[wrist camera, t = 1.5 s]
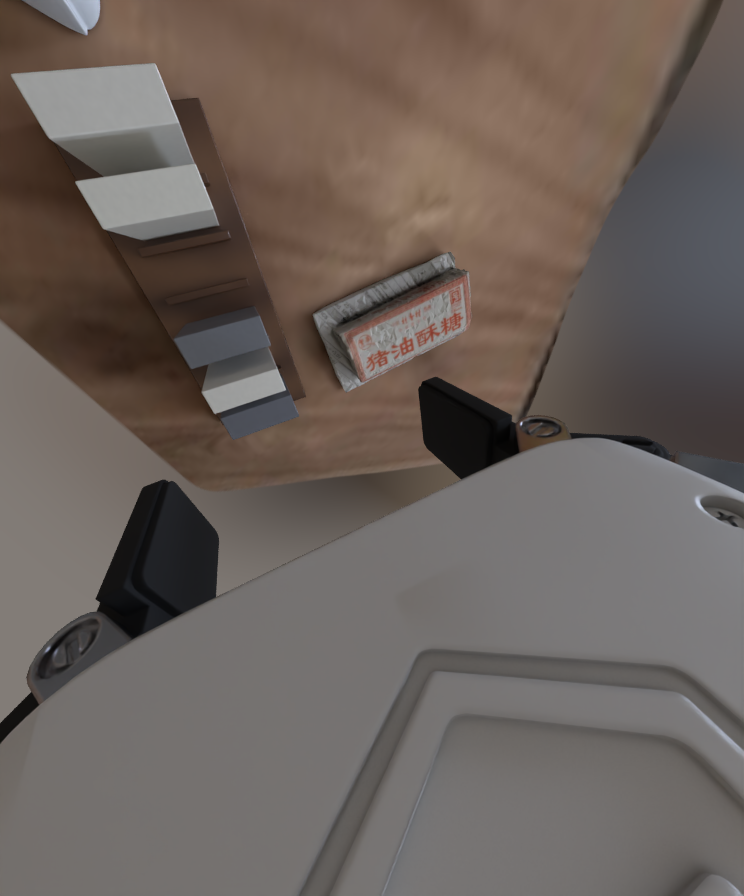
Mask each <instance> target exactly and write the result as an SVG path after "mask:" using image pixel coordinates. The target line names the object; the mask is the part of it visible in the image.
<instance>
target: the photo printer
mask: <svg viewBox="0 0 744 896" xmlns="http://www.w3.org/2000/svg"><path fill="white" fill-rule="evenodd" d="M22 1H24V2H26V3H27V4H29V5H31V6H32V7H34V8H35V9H37V10H39V11H40V12H42V13H44V14H45V15H47V16H49V17H50V18H52V19H54V20H55V21H57V22H59V23H61V24H62V25H64V26H66V27H68V28H70V29H72V30H74V31H76V32H79V33H81V34H83V35H88V32H87V29H88V30H90V29H92V28H93V27H94V26H95V24H96V23H97V21H98V18H99V14H100V0H22Z"/></svg>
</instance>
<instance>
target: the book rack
mask: <svg viewBox="0 0 744 896" xmlns="http://www.w3.org/2000/svg"><path fill="white" fill-rule="evenodd" d="M171 103H172V106H173V108H174V111H175V113H176V116H177V118H178V121H179V124H180V126H181V129H182V132H183V134H184V137H185V140H186V142H187V145H188V148H189V150H190V153H191V156H192V158H193V161H194V163H195V164H196V166H197V168H198V171H199V173H200V176H201V178H202V181H203V183H204V186H205V188H206V191H207V193H208V196H209V198H210V201H211V203H212V206H213V209H214V212H215V214H216V217H217V220H218V223H219V226H216V227H211V228H206V229H201V230H196V231H191V232H186V233H181V234H176V235H171V236H166V237H161V238H156V239H151V240H145V241H143V240H139V239H136V238H132V237H129V236H126V235H122V234H119V233H115V232H112V231H108V230H107V232H108V234H109V235H110V237H111V239H112V240H113V242H114V244H115V245H116V247H117V249H118V250H119V252H120V254H121V255H122V257H123V259H124V260H125V262H126V264H127V265H128V267H129V269H130V270H131V272H132V274H133V275H134V277H135V279H136V280H137V282H138V284H139V285H140V287H141V289H142V290H143V292H144V294H145V296H146V297H147V299H148V301H149V302H150V304H151V306H152V307H153V309H154V311H155V312H156V314H157V316H158V317H159V319H160V321H161V322H162V324H163V326H164V327H165V329H166V331H167V332H168V334H169V336H170V337H171V339H172V341H173V342H174V344H175V346H176V347H177V349H178V351H179V352H180V350H179V348H178V346H177V345H176V343H175V341H174V338H175V337H176V335H177V334H178V333H179V332H180V330H181V329H182V328H183V327H184V326H185V324H188V323H191V322H195V321H199V320H203V319H207V318H210V317H214V316H218V315H222V314H226V313H229V312H233V311H237V310H241V309H245V308H248V307H252V306H255V308H256V310H257V312H258V314H259V316H260V318H261V321H262V323H263V326H264V328H265V331H266V333H267V336H268V338H269V341H270V343H271V346H268V348H269V350H270V352H271V355H272V357H273V359H274V362H275V364H276V366H277V369H278V371H279V373H280V374H282V376H283V379H284V381H285V383H286V385H287V388H288V390H289V392H290V394H291V397H292V399H293V401H295V400H298V399H301V398H304V397H306V395H305V392H304V390H303V387H302V384H301V381H300V379H299V376H298V373H297V370H296V367H295V365H294V362H293V359H292V356H291V353H290V351H289V348H288V345H287V342H286V339H285V337H284V334H283V331H282V328H281V326H280V323H279V320H278V317H277V314H276V312H275V309H274V306H273V303H272V300H271V298H270V295H269V292H268V289H267V287H266V284H265V281H264V278H263V275H262V273H261V270H260V267H259V264H258V261H257V259H256V256H255V253H254V250H253V248H252V245H251V242H250V239H249V236H248V234H247V231H246V228H245V225H244V222H243V220H242V217H241V214H240V211H239V209H238V206H237V203H236V200H235V197H234V195H233V192H232V189H231V186H230V183H229V181H228V178H227V175H226V172H225V170H224V167H223V164H222V161H221V158H220V156H219V153H218V150H217V147H216V144H215V142H214V139H213V136H212V133H211V131H210V128H209V125H208V122H207V119H206V117H205V114H204V111H203V108H202V105H201V103H200V100H199V98H192V99H182V100H172V101H171ZM54 143H55V142H54ZM55 145H56V147H57V148H58V150H59V152H60V153H61V155H62V157H63V158H64V160H65V162H66V163H67V165H68V167H69V168H70V170H71V172H72V173H73V175H74V177H75V178H76V180H77V181H80V180H86V179H93V178H100V177H104V176H102V175H101V174H99V173H98V172H97V171H95V170H94V169H92V168H91V167H89V166H88V165H86V164H85V163H84V162H82V161H81V160H79V159H78V158H76V157H75V156H74V155H72V154H71V153H69V152H68V151H66V150H65V149H63V148H62V147H61V146H59V145H58V144H56V143H55ZM180 354H181V356H182V357H183V355H182V353H181V352H180ZM183 359H184V361H185V362H186V360H185V358H184V357H183ZM186 364H187V366H188V367H189V365H188V363H187V362H186ZM208 365H209V364H208ZM208 365H204V366H201V367H198V368H194V369H191V368H190V367H189V369H190V371H191V372H192V374H193V376H194V378H195V379H196V381H197V383H198V384H199V386H200V388H201V389H202V388H203V384H204V380H205V376H206V372H207V369H208ZM216 414H217V416H218V418H219V419H220V421H221V412H219V413H216ZM221 423H222V424H223V422H222V421H221ZM223 425H224V424H223Z"/></svg>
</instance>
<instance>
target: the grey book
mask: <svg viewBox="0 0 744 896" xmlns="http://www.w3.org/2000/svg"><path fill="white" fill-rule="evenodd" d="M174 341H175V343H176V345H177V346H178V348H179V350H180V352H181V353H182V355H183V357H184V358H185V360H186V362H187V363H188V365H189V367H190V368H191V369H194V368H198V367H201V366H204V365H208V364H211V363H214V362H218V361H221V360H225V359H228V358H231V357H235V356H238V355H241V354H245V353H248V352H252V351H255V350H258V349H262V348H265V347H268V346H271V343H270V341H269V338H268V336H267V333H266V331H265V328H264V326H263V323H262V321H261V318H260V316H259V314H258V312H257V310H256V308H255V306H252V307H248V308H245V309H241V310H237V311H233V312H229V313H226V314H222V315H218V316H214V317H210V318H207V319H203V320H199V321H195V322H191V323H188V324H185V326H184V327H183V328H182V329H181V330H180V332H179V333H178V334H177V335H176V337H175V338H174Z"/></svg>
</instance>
